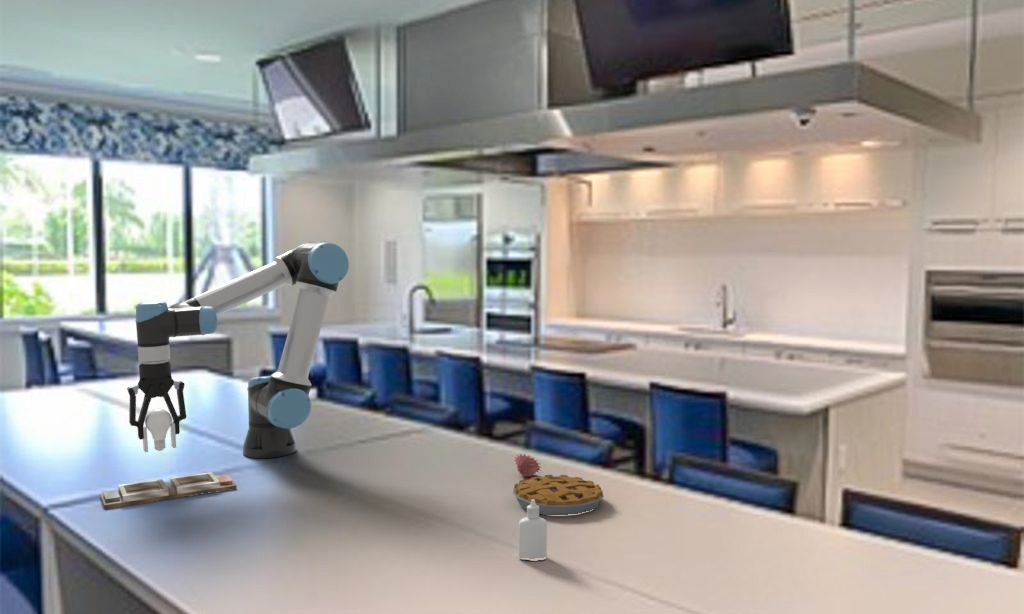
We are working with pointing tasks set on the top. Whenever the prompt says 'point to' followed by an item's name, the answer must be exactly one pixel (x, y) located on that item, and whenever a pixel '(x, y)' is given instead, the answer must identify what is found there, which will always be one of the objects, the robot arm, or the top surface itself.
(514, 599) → the top surface
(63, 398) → the top surface
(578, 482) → the pie
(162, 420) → the lightbulb
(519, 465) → the flower
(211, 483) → the socket board
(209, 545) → the top surface
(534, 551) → the eye dropper bottle
